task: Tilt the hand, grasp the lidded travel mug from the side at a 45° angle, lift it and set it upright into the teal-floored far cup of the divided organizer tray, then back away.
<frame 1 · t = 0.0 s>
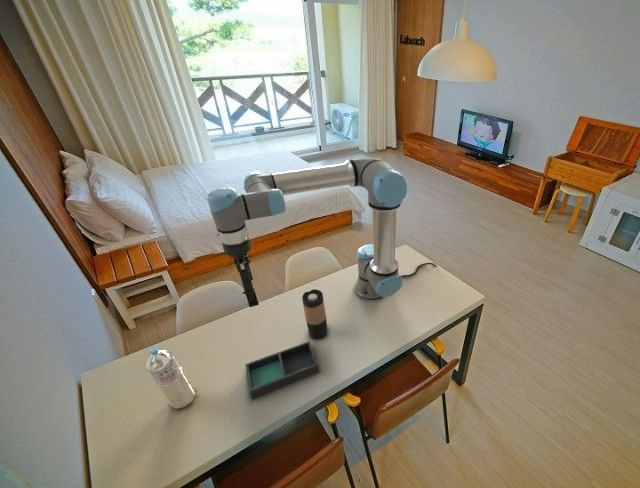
hand: (251, 292, 107), 28 cm above the table, tool pointing down, fingers open, 13 cm apart
divided organizer tray: (283, 371, 114), on the table
water bottle: (183, 399, 104), on the table
travel mug: (318, 332, 129), on the table
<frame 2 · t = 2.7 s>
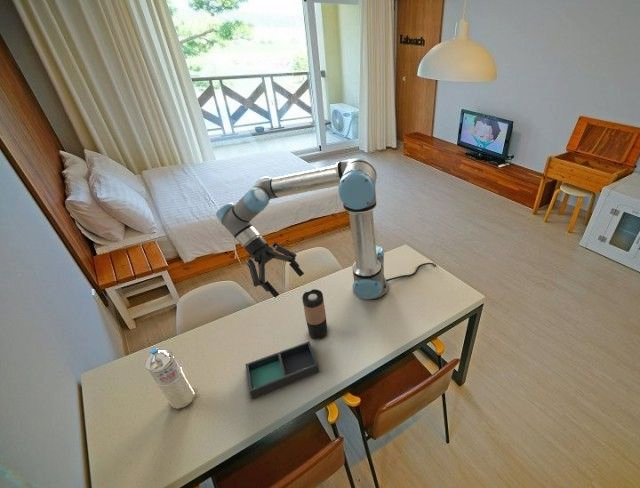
hand: (290, 285, 121), 21 cm above the table, tool tilted 45°, fingers open, 13 cm apart
nothing on the table moved.
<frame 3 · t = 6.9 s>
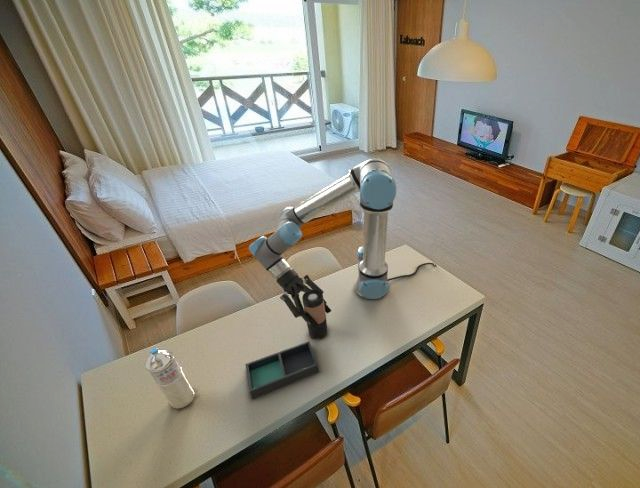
hand: (322, 318, 122), 10 cm above the table, tool tilted 45°, fingers closed on travel mug, 7 cm apart
travel mug: (318, 332, 129), on the table, touching gripper
everything else where it was.
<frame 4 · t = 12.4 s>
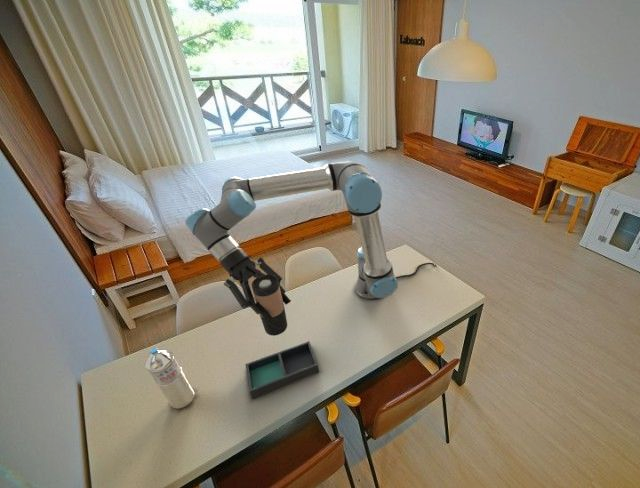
hand: (279, 310, 101), 28 cm above the table, tool tilted 45°, fingers closed on travel mug, 7 cm apart
travel mug: (276, 327, 107), point 18 cm above the table, touching gripper
everything else where it was.
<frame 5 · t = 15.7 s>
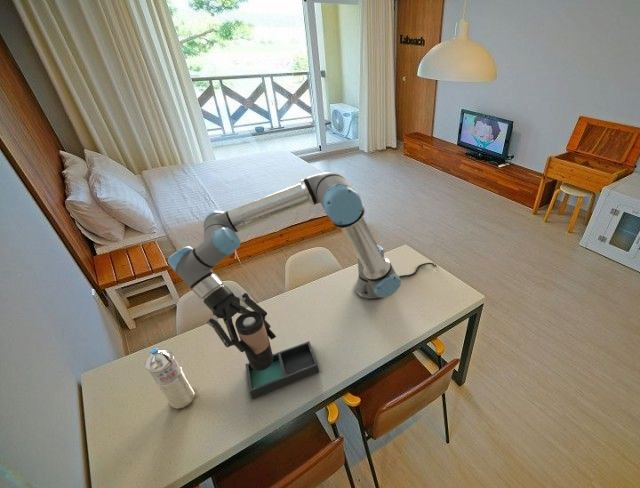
hand: (264, 347, 100), 19 cm above the table, tool tilted 45°, fingers closed on travel mug, 7 cm apart
travel mug: (262, 361, 107), point 9 cm above the table, touching gripper
everything else where it was.
when the fingers open (10 cm above the table, at t = 18.3 s): travel mug stays where it is, resting on divided organizer tray.
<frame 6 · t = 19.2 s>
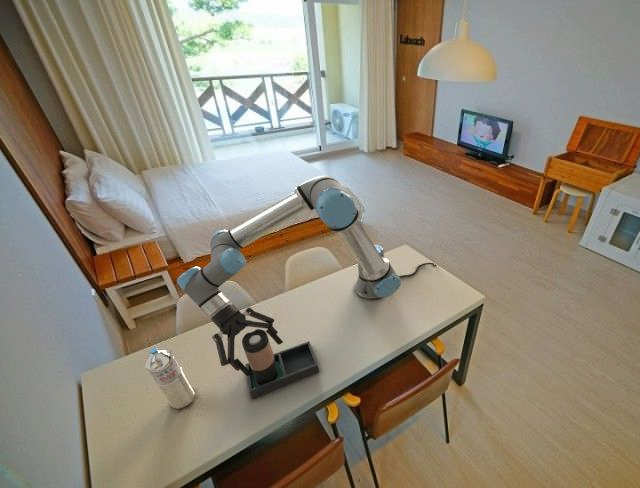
hand: (265, 358, 104), 12 cm above the table, tool tilted 45°, fingers open, 13 cm apart
travel mug: (267, 376, 111), point 1 cm above the table, touching divided organizer tray
everything else where it was.
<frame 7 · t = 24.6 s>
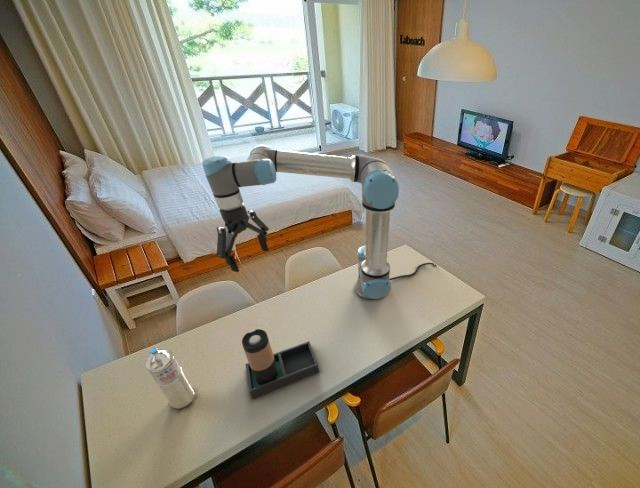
hand: (251, 260, 113), 33 cm above the table, tool pointing down, fingers open, 13 cm apart
nothing on the table moved.
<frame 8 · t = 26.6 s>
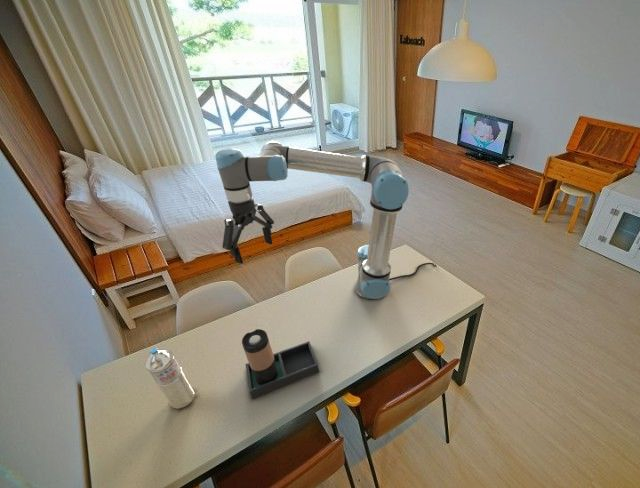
hand: (255, 252, 114), 35 cm above the table, tool pointing down, fingers open, 13 cm apart
nothing on the table moved.
at the end: travel mug 0.1 cm from the target spot in the divided organizer tray, point 0.6 cm above the divided organizer tray's base; travel mug tilted 0°; the gripper is holding nothing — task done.
